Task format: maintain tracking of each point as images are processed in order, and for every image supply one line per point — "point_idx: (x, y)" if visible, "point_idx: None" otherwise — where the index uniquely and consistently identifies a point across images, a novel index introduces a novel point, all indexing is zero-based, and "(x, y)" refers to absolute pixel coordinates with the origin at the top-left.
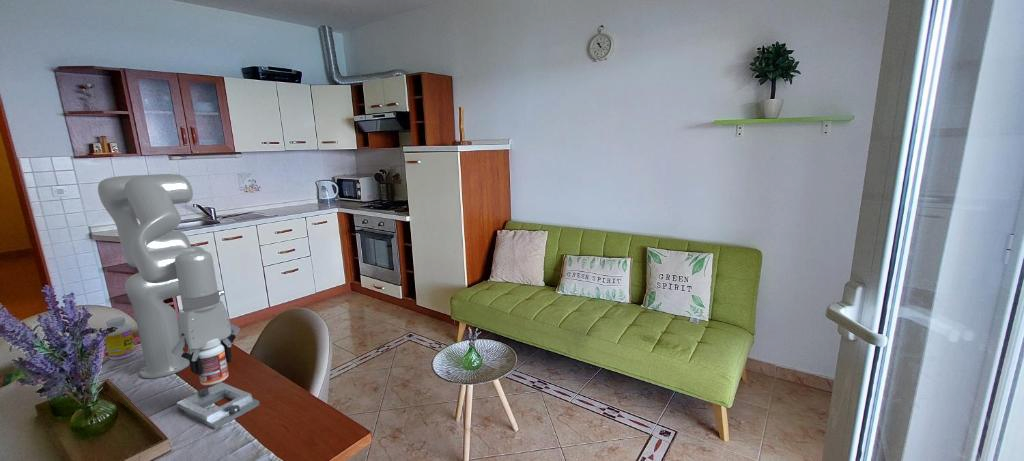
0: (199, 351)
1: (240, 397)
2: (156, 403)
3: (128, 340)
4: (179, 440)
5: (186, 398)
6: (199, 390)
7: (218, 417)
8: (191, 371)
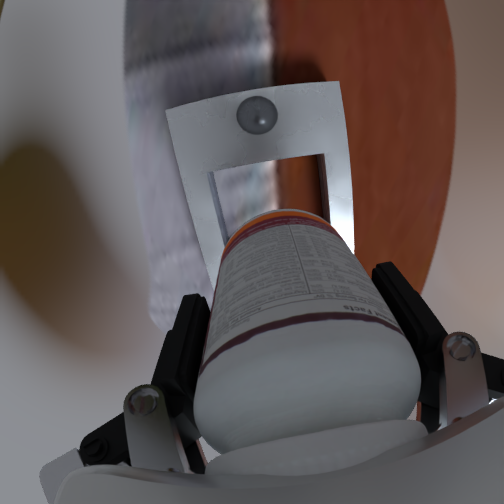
0: (225, 453)
1: None
2: (147, 9)
3: None
4: (153, 282)
5: (198, 103)
6: (248, 100)
7: None
8: (170, 331)
